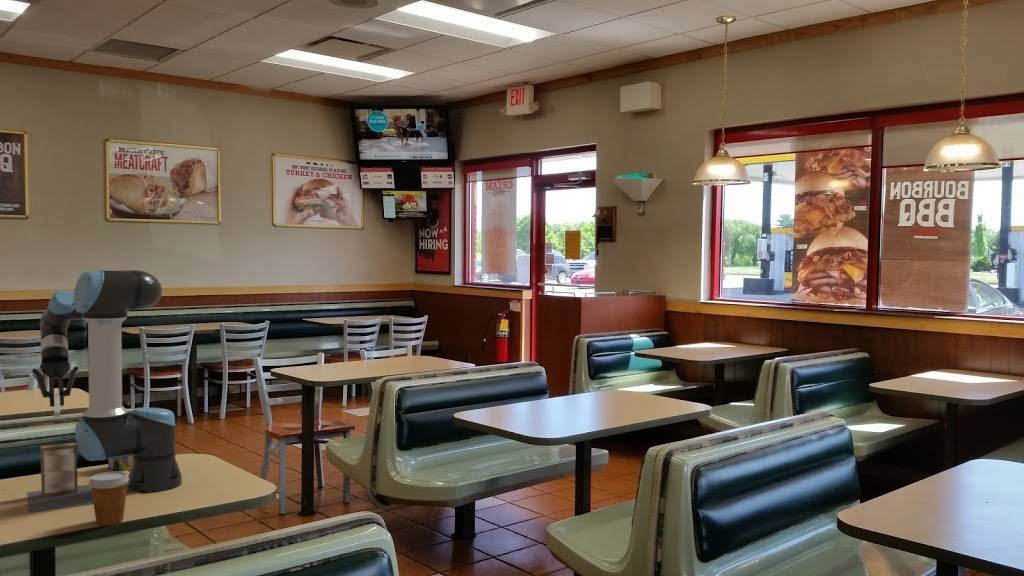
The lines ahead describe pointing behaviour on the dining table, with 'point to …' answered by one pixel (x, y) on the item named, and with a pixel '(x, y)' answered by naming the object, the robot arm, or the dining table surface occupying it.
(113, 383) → the robot arm
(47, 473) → the menu board
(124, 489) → the disposable coffee cup
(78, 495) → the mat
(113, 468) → the chalk box
